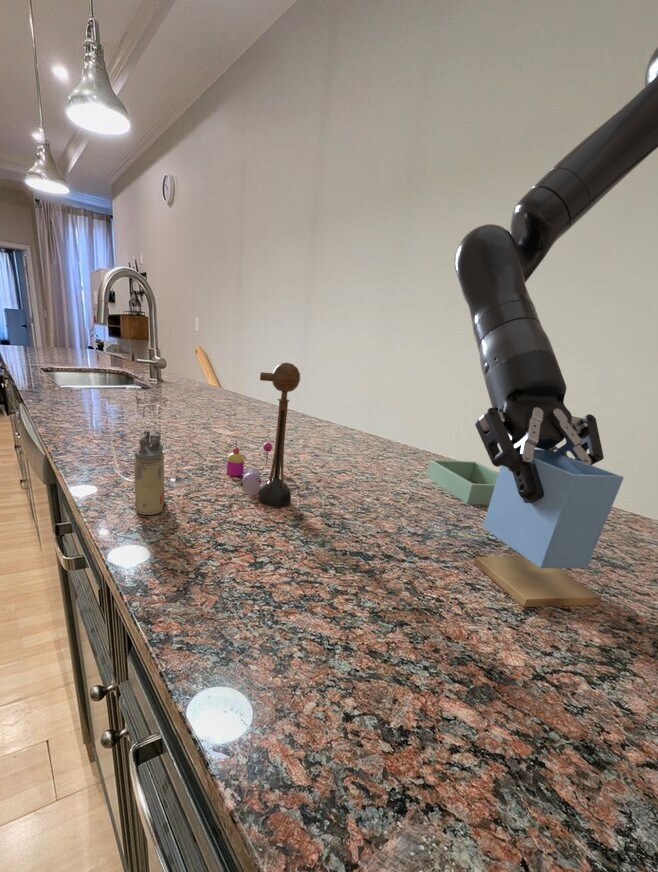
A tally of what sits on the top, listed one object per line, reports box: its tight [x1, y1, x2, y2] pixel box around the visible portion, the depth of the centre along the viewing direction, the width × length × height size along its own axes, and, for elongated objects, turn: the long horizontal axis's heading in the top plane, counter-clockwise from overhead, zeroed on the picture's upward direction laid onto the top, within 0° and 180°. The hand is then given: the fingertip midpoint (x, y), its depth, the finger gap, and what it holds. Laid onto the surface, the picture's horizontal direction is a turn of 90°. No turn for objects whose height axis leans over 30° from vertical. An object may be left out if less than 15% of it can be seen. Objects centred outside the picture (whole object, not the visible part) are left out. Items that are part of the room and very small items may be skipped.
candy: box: [226, 439, 273, 497], centre depth 76 cm, size 18×8×6 cm, turn 2°
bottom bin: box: [425, 459, 499, 505], centre depth 74 cm, size 9×13×5 cm
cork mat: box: [473, 555, 602, 608], centre depth 50 cm, size 9×9×1 cm
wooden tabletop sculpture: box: [258, 362, 301, 508], centre depth 63 cm, size 6×5×20 cm
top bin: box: [482, 448, 625, 569], centre depth 49 cm, size 6×10×10 cm, turn 10°
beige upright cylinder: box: [133, 430, 166, 516], centre depth 60 cm, size 7×4×10 cm, turn 8°
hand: (560, 500), depth 47 cm, fingers closed on top bin, 5 cm apart
